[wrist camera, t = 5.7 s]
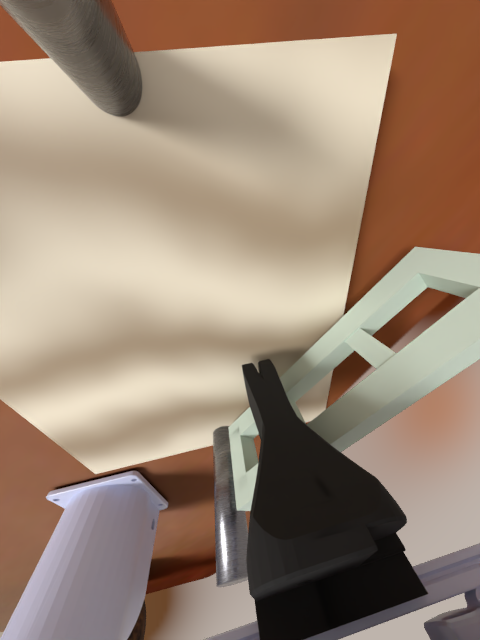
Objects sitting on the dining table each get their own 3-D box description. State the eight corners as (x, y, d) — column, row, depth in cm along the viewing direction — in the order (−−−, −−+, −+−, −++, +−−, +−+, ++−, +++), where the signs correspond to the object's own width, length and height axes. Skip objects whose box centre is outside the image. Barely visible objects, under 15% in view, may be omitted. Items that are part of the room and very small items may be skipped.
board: (317, 407, 17) (323, 417, 16) (102, 459, 15) (95, 473, 14) (371, 59, 6) (396, 33, 6) (-287, 113, 5) (-392, 90, 4)
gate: (240, 430, 14) (253, 511, 10) (228, 427, 13) (236, 510, 10) (423, 261, 9) (583, 289, 5) (415, 246, 9) (583, 265, 5)
